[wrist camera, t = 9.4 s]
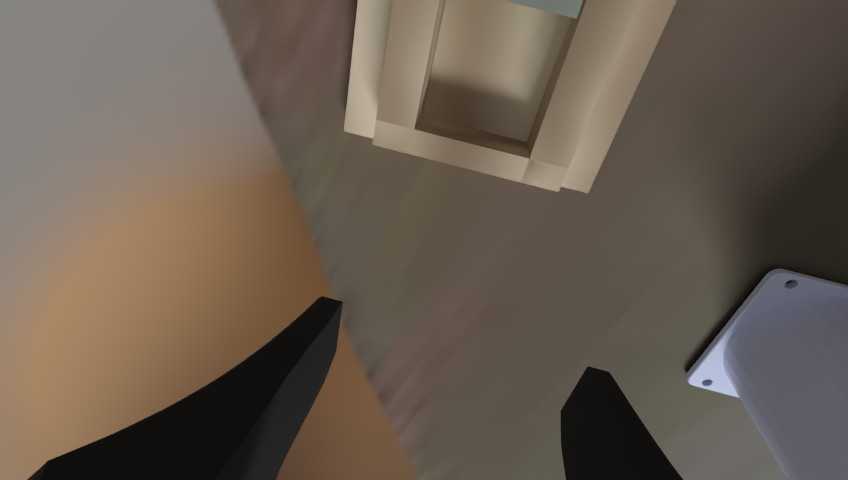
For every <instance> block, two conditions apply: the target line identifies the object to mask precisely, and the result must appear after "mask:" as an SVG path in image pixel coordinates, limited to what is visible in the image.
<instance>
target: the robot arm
mask: <svg viewBox="0 0 848 480" xmlns="http://www.w3.org/2000/svg"><path fill="white" fill-rule="evenodd" d="M790 280H792V281H791V282H790V283H788V284H785V283H786V282H788V281H790ZM342 303H343V302H342V301H338V300H334V299H330V298H327V297H323V296H322V297H320V298H318V299H317V300H316V301H315V302H314V303H313V304H312V305H311V306H310V307H309V308H308V309H307V310H306V311H305V312H304V313H302V314H301V315H300V316H299V317H298V318H297V319H296V320H295V321H293V322H292V323H291V324H290V325H289V326H288V327H287V328H285V329H284V330H283V331H282V332H280V333H279V334H278V335H277V336H276V337H275V338H273V339H272V340H271V341H270V342H268V343H267V344H266V345H264V346H263V347H262V348H260V349H259V350H258V351H256V352H255V353H254V354H252V355H251V356H249V357H248V358H247V359H246V360H244V361H243V362H241V363H240V364H238V365H237V366H236V367H234V368H233V369H231V370H230V371H228V372H227V373H225V374H224V375H222V376H221V377H219V378H217V379H216V380H214V381H213V382H211V383H209V384H208V385H206V386H205V387H203V388H201V389H199V390H198V391H196V392H194V393H192V394H191V395H189V396H187V397H185V398H184V399H182V400H180V401H178V402H176V403H175V404H173V405H171V406H169V407H167V408H165V409H164V410H162V411H159V412H157V413H155V414H153V415H151V416H149V417H147V418H145V419H143V420H141V421H139V422H137V423H135V424H133V425H131V426H129V427H127V428H125V429H122V430H120V431H118V432H116V433H114V434H111V435H109V436H107V437H105V438H102V439H100V440H98V441H95V442H93V443H90V444H88V445H86V446H83V447H81V448H78V449H76V450H73V451H71V452H69V453H66V454H64V455H61V456H59V457H56V458H54V459H51V460H49V461H47V462H46V463H45V464H44V465H43V466H42V467H41V468H40V469H39V470H38V471H37V472H35V473H34V474H33V475H32V476H31V477H30V478H29V479H27V480H276V477H277V475H278V473H279V470H280V468H281V466H282V464H283V462H284V459H285V457H286V455H287V453H288V451H289V449H290V447H291V445H292V443H293V441H294V439H295V438H296V436H297V434H298V432H299V430H300V428H301V426H302V424H303V422H304V420H305V418H306V417H307V415H308V413H309V411H310V409H311V407H312V405H313V403H314V401H315V399H316V397H317V395H318V393H319V391H320V389H321V387H322V385H323V383H324V381H325V378H326V376H327V373H328V371H329V368H330V366H331V363H332V360H333V358H334V355H335V352H336V347H337V339H338V333H339V325H340V318H341V310H342ZM686 378H687V381H688V382H689V384H691V385H693V386H697V387H701V388H704V389H708V390H712V391H716V392H720V393H723V394H727V395H731V396H735V397H739V398H740V399H741V401H742V403H743V404H744V406H745V408H746V409H747V411H748V413H749V415H750V416H751V418H752V420H753V421H754V423H755V425H756V427H757V428H758V430H759V432H760V433H761V435H762V437H763V439H764V440H765V442H766V444H767V445H768V447H769V449H770V451H771V452H772V454H773V456H774V457H775V459H776V461H777V463H778V464H779V466H780V468H781V470H782V471H783V473H784V475H785V476H786V478H787V480H848V285H844V284H840V283H836V282H832V281H828V280H824V279H821V278H817V277H813V276H809V275H805V274H801V273H797V272H793V271H789V270H785V269H774V270H772V271H770V272H768V273H767V274H766V275H765V276H764V278H763V279H762V280H761V281H760V283H759V284H758V285H757V286H756V288H755V289H754V290H753V291H752V293H751V294H750V295H749V296H748V298H747V299H746V300H745V301H744V303H743V304H742V305H741V306H740V308H739V309H738V310H737V311H736V313H735V314H734V315H733V316H732V318H731V319H730V320H729V321H728V323H727V324H726V325H725V326H724V328H723V329H722V330H721V331H720V333H719V334H718V335H717V336H716V338H715V339H714V340H713V341H712V343H711V344H710V345H709V346H708V348H707V349H706V350H705V351H704V353H703V354H702V355H701V356H700V358H699V359H698V360H697V361H696V363H695V364H694V365H693V366H692V367H691V369H690V370H689V371H688V372H687V374H686ZM561 447H562V454H563V462H564V469H565V475H566V480H683V479H682V478H681V476H680V475H679V474H678V472H677V471H676V470H675V468H674V467H673V466H672V464H671V463H670V462H669V460H668V459H667V458H666V456H665V455H664V453H663V452H662V451H661V449H660V448H659V446H658V445H657V443H656V442H655V441H654V439H653V438H652V436H651V435H650V433H649V432H648V430H647V429H646V427H645V426H644V424H643V423H642V421H641V420H640V418H639V417H638V415H637V414H636V412H635V411H634V409H633V408H632V406H631V405H630V403H629V402H628V400H627V398H626V397H625V395H624V394H623V392H622V391H621V389H620V388H619V386H618V385H617V383H616V382H615V380H614V379H613V377H612V376H611V374H610V373H609V372H607V371H603V370H599V369H596V368H592V367H587V368H586V370H585V372H584V373H583V375H582V377H581V378H580V380H579V382H578V383H577V385H576V387H575V388H574V390H573V392H572V393H571V395H570V396H569V398H568V400H567V401H566V403H565V405H564V406H563V408H562V410H561Z"/></svg>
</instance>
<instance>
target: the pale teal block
mask: <svg viewBox="0 0 848 480" xmlns="http://www.w3.org/2000/svg"><path fill="white" fill-rule="evenodd" d="M503 1H507V2H511V3H515V4H519V5H523V6H527V7H531V8H535V9H539V10H544V11H548V12H552V13H556V14H560V15H564V16H568V17H572V18H576V19H577V16H578V13H579V10H580V7H581V5H582V2H583V0H503Z"/></svg>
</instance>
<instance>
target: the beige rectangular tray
mask: <svg viewBox="0 0 848 480" xmlns="http://www.w3.org/2000/svg"><path fill="white" fill-rule="evenodd" d="M676 1H677V0H583V2H582V5H581V7H580V10H579V13H578V16H577V19H576V18H572V17H568V16H564V15H560V14H556V13H552V12H548V11H544V10H539V9H535V8H531V7H527V6H523V5H519V4H515V3H511V2H507V1H503V0H358V4H357V13H356V23H355V32H354V41H353V51H352V60H351V70H350V79H349V88H348V98H347V107H346V117H345V126H344V131H345V132H349V133H353V134H357V135H361V136H365V137H369V138H373V144H372V145H376V146H380V147H384V148H388V149H392V150H396V151H399V152H403V153H407V154H411V155H415V156H419V157H423V158H427V159H431V160H435V161H439V162H443V163H447V164H450V165H454V166H458V167H462V168H466V169H470V170H474V171H478V172H482V173H486V174H490V175H494V176H498V177H501V178H505V179H509V180H513V181H517V182H521V183H525V184H529V185H533V186H537V187H541V188H545V189H549V190H552V191H556V192H559V190H560V187H561V186H562V187H565V188H569V189H573V190H577V191H581V192H585V193H589V190H590V188H591V186H592V184H593V182H594V180H595V177H596V175H597V173H598V171H599V169H600V166H601V164H602V162H603V160H604V158H605V156H606V153H607V151H608V149H609V147H610V145H611V143H612V140H613V138H614V136H615V134H616V132H617V129H618V127H619V125H620V123H621V121H622V119H623V116H624V114H625V112H626V110H627V108H628V106H629V103H630V101H631V99H632V97H633V95H634V93H635V90H636V88H637V86H638V84H639V82H640V79H641V77H642V75H643V73H644V71H645V69H646V66H647V64H648V62H649V60H650V58H651V56H652V53H653V51H654V49H655V47H656V45H657V42H658V40H659V38H660V36H661V34H662V32H663V29H664V27H665V25H666V23H667V21H668V19H669V16H670V14H671V12H672V10H673V8H674V5H675V3H676Z"/></svg>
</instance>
